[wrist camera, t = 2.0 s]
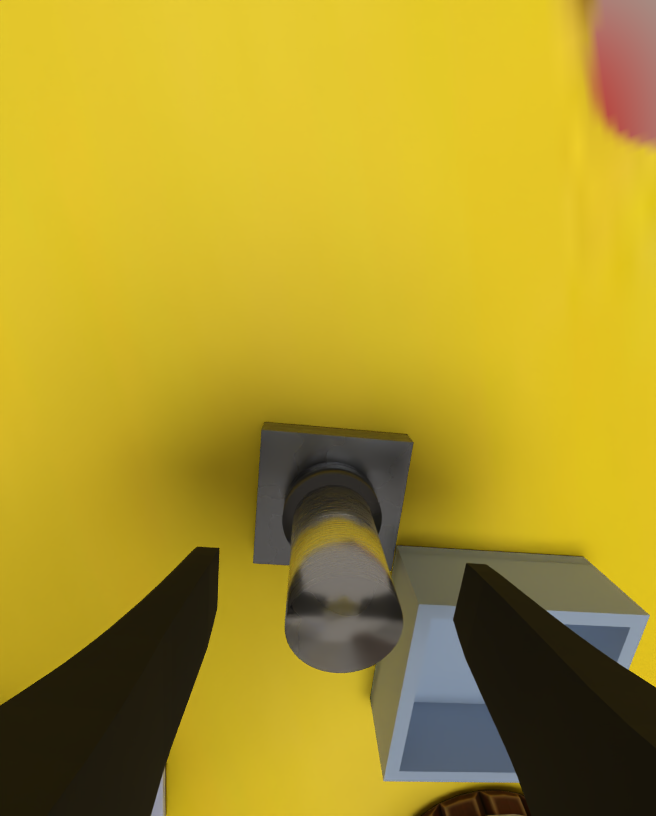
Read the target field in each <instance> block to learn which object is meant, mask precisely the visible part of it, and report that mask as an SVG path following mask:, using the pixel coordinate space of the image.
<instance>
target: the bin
mask: <svg viewBox="0 0 656 816" xmlns="http://www.w3.org/2000/svg"><path fill="white" fill-rule="evenodd" d="M466 563H475V564H487V565H488V566H489V567H491V568H492V569H494V570H495V571H496V572H498V573H499V574H500V575H502V576H503V577H504V578H506V579H507V580H508V581H509V582H511V583H512V584H513V585H514V586H516V587H517V588H518V589H519V590H521V591H522V592H523V593H525V594H526V595H527V596H528V597H530V598H531V599H532V600H533V601H535V602H536V603H537V604H538V605H540V606H541V607H542V608H543V609H545V610H546V611H547V612H549V613H550V614H551V615H552V616H554V617H555V618H556V619H558V620H559V621H560V622H562V623H563V624H564V625H566V626H567V627H568V628H570V629H571V630H572V631H574V632H575V633H576V634H578V635H579V636H580V637H582V638H583V639H585V640H586V641H587V642H589V643H590V644H591V645H593V646H594V647H596V648H597V649H598V650H600V651H601V652H603V653H604V654H605V655H607V656H608V657H610V658H611V659H613V660H614V661H616V662H617V663H619V664H620V665H622V666H623V667H625V668H626V669H629V667H630V664H631V662H632V659H633V657H634V654H635V652H636V649H637V646H638V644H639V641H640V639H641V636H642V634H643V631H644V629H645V626H646V624H647V621H648V619H649V616H650V615H649V614H648V613H646V612H645V611H644V610H643V609H642V608H641V607H640V606H639V605H637V604H636V603H635V602H634V601H633V600H632V599H631V598H630V597H628V596H627V595H626V594H625V593H624V592H623V591H622V590H620V589H619V588H618V587H617V586H616V585H615V584H614V583H613V582H611V581H610V580H609V579H608V578H607V577H606V576H605V575H604V574H602V573H601V572H600V571H599V570H598V569H597V568H596V567H595V566H593V565H592V564H591V563H590V562H589V561H588V560H587V559H585V558H584V557H578V556H561V555H545V554H529V553H512V552H496V551H480V550H463V549H447V548H430V547H414V546H398V545H397V547H396V553H395V558H394V564H393V570H392V575H391V577H392V581H393V584H394V587H395V590H396V593H397V596H398V600H399V603H400V606H401V609H402V614H403V629H402V633H401V636H400V638H399V641H398V642H397V644H396V646H395V647H394V648H393V650H392V651H391V652H390V653H389V654H388V655H387V656H386V657H385V658H383V659H382V660H381V661H379V662H378V663H376V667H375V673H374V679H373V684H372V690H371V696H370V700H371V707H372V713H373V719H374V725H375V732H376V738H377V744H378V750H379V757H380V763H381V769H382V775H383V781H420V782H518V783H519V780H518V777H517V775H516V772H515V770H514V767H513V765H512V762H511V760H510V758H509V755H508V753H507V751H506V748H505V746H504V744H503V742H502V739H501V737H500V735H499V733H498V731H497V728H496V726H495V724H494V722H493V720H492V717H491V715H490V713H489V711H488V708H487V706H486V704H485V702H484V700H483V697H482V695H481V693H480V691H479V689H478V686H477V684H476V682H475V680H474V677H473V675H472V673H471V671H470V668H469V666H468V664H467V661H466V659H465V656H464V653H463V650H462V647H461V644H460V641H459V638H458V635H457V632H456V628H455V625H454V622H453V617H454V613H455V609H456V604H457V600H458V596H459V592H460V587H461V583H462V579H463V575H464V570H465V566H466Z"/></svg>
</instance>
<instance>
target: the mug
mask: <svg viewBox="0 0 656 816" xmlns="http://www.w3.org/2000/svg"><path fill="white" fill-rule="evenodd" d="M422 816H531V813H530V810H529V808H528V805H527V802H526V799H525V796H523V795H521V794H518V793H514V792H508V791H501V790H486V791H475V792H471V793H466V794H462V795H458V796H455V797H453V798H451V799H448V800H446V801H444V802H441V803H439V804H437V805H436V806H434V807H433V808H432V809H430V810H429V811H427V812H426V813H424V814H423V815H422Z"/></svg>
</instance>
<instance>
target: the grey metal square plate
mask: <svg viewBox="0 0 656 816" xmlns="http://www.w3.org/2000/svg"><path fill="white" fill-rule="evenodd" d="M412 448H413V441H412V440H411V439H410V438H409V436H408V435H407V434H398V433H386V432H374V431H363V430H351V429H339V428H327V427H316V426H304V425H292V424H281V423H269V422H264V425H263V427H262V431H261V447H260V463H259V479H258V495H257V510H256V526H255V542H254V558H253V563H258V564H276V565H289V564H290V550H291V545H290V544H289V542H288V541H287V539H286V537H285V534H284V531H283V525H282V516H283V508H284V501H285V495H286V492H287V490H288V487H289V485H290V484H291V482H292V481H293V480H294V479H295V477H296V476H297V475H298V474H300V473H301V472H302V471H304V470H305V469H307V468H309V467H311V466H313V465H316V464H320V463H325V462H338V463H344V464H347V465H350V466H352V467H354V468H356V469H358V470H359V471H361V472H362V473H363V474H364V475H365V476H366V477H367V478H368V479H369V481H370V482H371V484H372V486H373V488H374V491H375V494H376V496H377V499H378V502H379V504H380V507H381V512H382V524H381V528H380V532H379V534H378V536H379V539H380V542H381V546H382V549H383V552H384V555H385V558H386V561H387V565H388V568H389V571H391V569H392V563H393V557H394V551H395V546H396V540H397V534H398V528H399V523H400V517H401V511H402V505H403V500H404V494H405V488H406V482H407V476H408V471H409V465H410V459H411V453H412Z"/></svg>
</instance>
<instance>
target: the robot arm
mask: <svg viewBox="0 0 656 816" xmlns="http://www.w3.org/2000/svg"><path fill="white" fill-rule="evenodd" d="M218 571H219V548H209V547H196V548H195V549H194V550H193V551H192V552H191V553H190V554H189V555H188V556H187V557H186V558H185V559H184V560H183V561H182V562H181V563H180V564H179V565H178V566H177V567H176V568H175V569H174V570H173V571H172V572H171V573H170V574H169V575H168V576H167V577H166V578H165V579H164V580H163V581H162V582H161V583H160V584H159V585H158V586H157V587H155V588H154V589H153V590H152V591H151V592H150V593H149V594H148V595H147V596H146V597H145V598H144V599H143V600H142V601H140V602H139V603H138V604H137V605H136V606H135V607H134V608H132V609H131V610H130V611H129V612H128V613H127V614H125V615H124V616H123V617H122V618H121V619H120V620H118V621H117V622H116V623H115V624H114V625H113V626H111V627H110V628H109V629H108V630H107V631H105V632H104V633H103V634H102V635H100V636H99V637H98V638H97V639H95V640H94V641H93V642H92V643H90V644H89V645H88V646H86V647H85V648H84V649H82V650H81V651H80V652H78V653H77V654H76V655H74V656H73V657H72V658H70V659H69V660H68V661H66V662H65V663H63V664H62V665H61V666H59V667H58V668H56V669H55V670H53V671H52V672H51V673H49V674H48V675H46V676H44V677H43V678H41V679H40V680H38V681H37V682H35V683H34V684H32V685H31V686H29V687H28V688H26V689H25V690H23V691H22V692H20V693H19V694H17V695H16V696H14V697H13V698H11V699H10V700H8V701H7V702H5V703H4V704H2V705H0V816H166V806H165V765H166V762H167V759H168V756H169V753H170V750H171V747H172V744H173V741H174V738H175V735H176V733H177V730H178V727H179V724H180V722H181V719H182V716H183V713H184V711H185V708H186V705H187V702H188V700H189V697H190V694H191V691H192V689H193V686H194V683H195V681H196V678H197V675H198V672H199V669H200V667H201V664H202V661H203V658H204V655H205V653H206V650H207V647H208V643H209V639H210V635H211V631H212V628H213V623H214V619H215V615H216V611H217V600H218ZM453 622H454V625H455V628H456V632H457V635H458V638H459V641H460V644H461V647H462V650H463V653H464V656H465V659H466V661H467V664H468V666H469V668H470V671H471V673H472V675H473V677H474V680H475V682H476V684H477V686H478V689H479V691H480V693H481V695H482V697H483V700H484V702H485V704H486V706H487V708H488V711H489V713H490V715H491V717H492V720H493V722H494V724H495V726H496V728H497V731H498V733H499V735H500V737H501V739H502V742H503V744H504V746H505V748H506V751H507V753H508V755H509V758H510V760H511V762H512V765H513V767H514V770H515V772H516V775H517V777H518V780H519V783H520V785H521V788H522V791H523V794H524V796H525V799H526V802H527V805H528V808H529V810H530V813H531V816H656V687H654V686H653V685H651V684H649V683H648V682H646V681H645V680H643V679H642V678H640V677H639V676H637V675H636V674H634V673H632V672H631V671H629V670H628V669H626V668H625V667H623V666H622V665H620V664H619V663H617V662H616V661H614V660H613V659H611V658H610V657H608V656H607V655H605V654H604V653H603V652H601V651H600V650H598V649H597V648H596V647H594V646H593V645H591V644H590V643H589V642H587V641H586V640H585V639H583V638H582V637H580V636H579V635H578V634H576V633H575V632H574V631H572V630H571V629H570V628H568V627H567V626H566V625H564V624H563V623H562V622H560V621H559V620H558V619H556V618H555V617H554V616H552V615H551V614H550V613H549V612H547V611H546V610H545V609H543V608H542V607H541V606H540V605H538V604H537V603H536V602H535V601H533V600H532V599H531V598H530V597H528V596H527V595H526V594H525V593H523V592H522V591H521V590H519V589H518V588H517V587H516V586H514V585H513V584H512V583H511V582H509V581H508V580H507V579H506V578H504V577H503V576H502V575H500V574H499V573H498V572H496V571H495V570H494V569H492V568H491V567H489V566H488V565H487V564H475V563H466V566H465V570H464V575H463V579H462V583H461V587H460V592H459V596H458V600H457V604H456V609H455V613H454V617H453Z"/></svg>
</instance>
